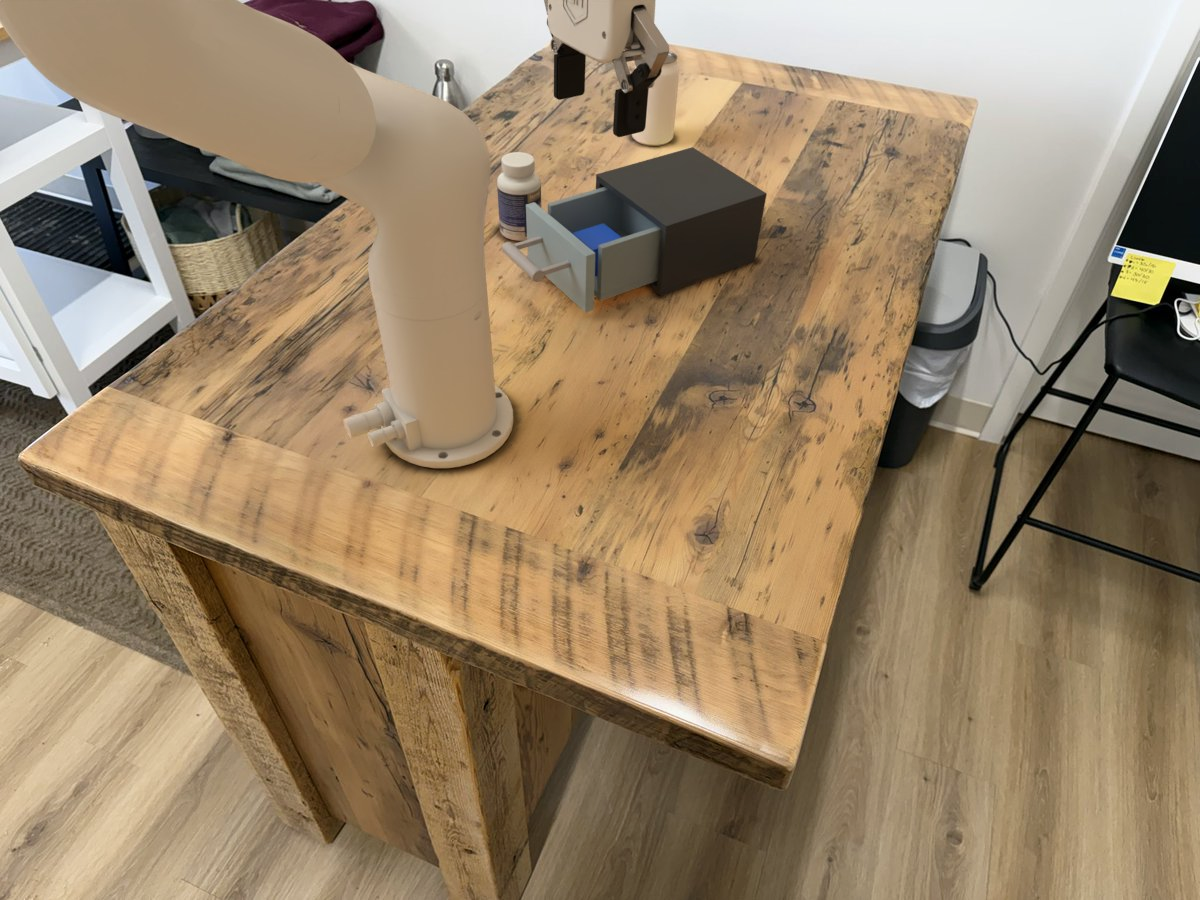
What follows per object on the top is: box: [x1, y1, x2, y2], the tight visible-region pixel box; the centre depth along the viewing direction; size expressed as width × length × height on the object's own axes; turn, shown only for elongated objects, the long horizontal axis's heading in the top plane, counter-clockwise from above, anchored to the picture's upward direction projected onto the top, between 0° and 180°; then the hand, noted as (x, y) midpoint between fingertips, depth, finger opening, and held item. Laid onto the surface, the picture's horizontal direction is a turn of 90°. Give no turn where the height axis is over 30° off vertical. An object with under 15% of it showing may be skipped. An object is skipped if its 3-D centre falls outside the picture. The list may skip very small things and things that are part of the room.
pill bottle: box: [496, 151, 542, 242], centre depth 104 cm, size 5×5×10 cm
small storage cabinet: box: [595, 147, 767, 297], centre depth 102 cm, size 15×14×9 cm
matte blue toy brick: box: [572, 223, 622, 276], centre depth 98 cm, size 4×4×4 cm
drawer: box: [501, 187, 662, 314], centre depth 97 cm, size 18×13×7 cm
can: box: [631, 50, 680, 147], centre depth 124 cm, size 6×6×12 cm
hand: (598, 114), depth 78 cm, fingers open, 9 cm apart
